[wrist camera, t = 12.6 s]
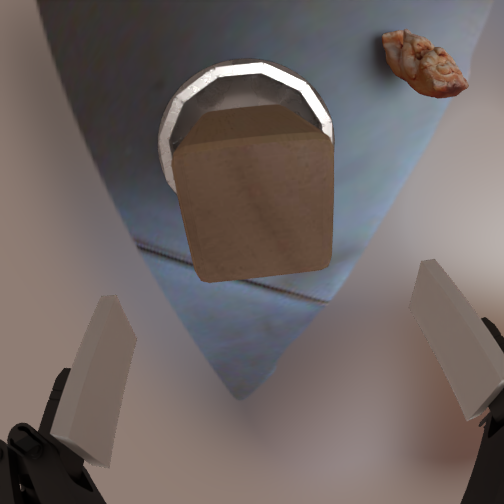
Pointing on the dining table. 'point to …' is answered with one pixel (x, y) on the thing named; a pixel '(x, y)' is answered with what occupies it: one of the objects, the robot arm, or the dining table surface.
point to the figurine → (423, 65)
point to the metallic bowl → (237, 100)
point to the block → (255, 193)
